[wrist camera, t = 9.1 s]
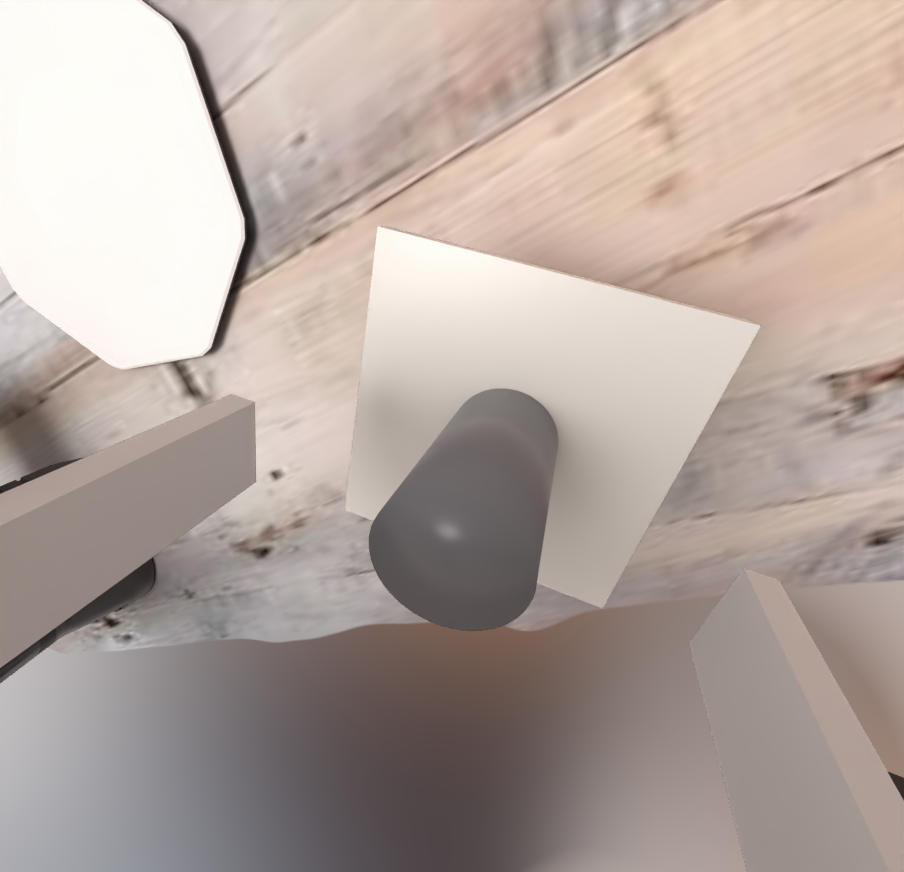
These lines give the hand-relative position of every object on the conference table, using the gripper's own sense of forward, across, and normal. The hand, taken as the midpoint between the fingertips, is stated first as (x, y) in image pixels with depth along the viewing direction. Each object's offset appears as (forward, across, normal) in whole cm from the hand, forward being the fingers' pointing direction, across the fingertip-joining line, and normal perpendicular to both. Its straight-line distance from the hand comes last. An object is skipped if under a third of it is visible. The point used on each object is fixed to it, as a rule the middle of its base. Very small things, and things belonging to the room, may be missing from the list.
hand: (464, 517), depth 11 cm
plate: (+17, -32, +3) cm, 36 cm away
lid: (+6, 0, 0) cm, 6 cm away
